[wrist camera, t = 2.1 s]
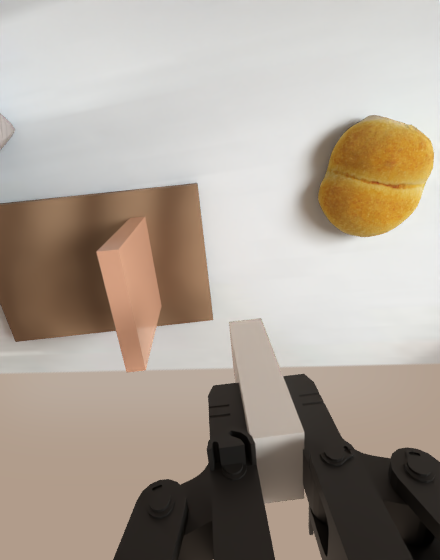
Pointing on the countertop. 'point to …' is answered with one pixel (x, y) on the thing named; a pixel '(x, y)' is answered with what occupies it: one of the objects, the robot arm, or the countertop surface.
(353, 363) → the countertop surface
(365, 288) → the countertop surface
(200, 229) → the board
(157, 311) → the tile
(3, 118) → the juice carton
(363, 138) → the bread roll
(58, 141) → the countertop surface
